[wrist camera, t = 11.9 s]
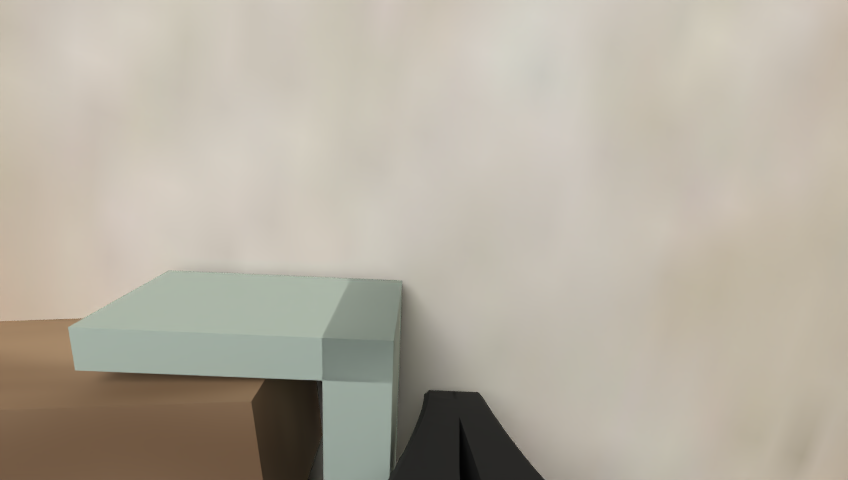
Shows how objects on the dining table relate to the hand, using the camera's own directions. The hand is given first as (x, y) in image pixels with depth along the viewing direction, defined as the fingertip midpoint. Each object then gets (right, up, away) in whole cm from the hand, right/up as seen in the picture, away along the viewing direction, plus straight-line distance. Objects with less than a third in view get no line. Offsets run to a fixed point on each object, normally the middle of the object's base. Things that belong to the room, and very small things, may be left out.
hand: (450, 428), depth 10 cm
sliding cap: (-4, 0, +1) cm, 4 cm away
